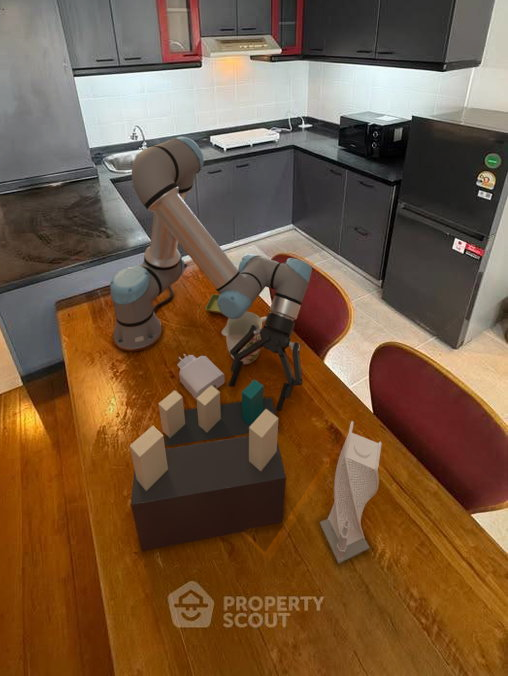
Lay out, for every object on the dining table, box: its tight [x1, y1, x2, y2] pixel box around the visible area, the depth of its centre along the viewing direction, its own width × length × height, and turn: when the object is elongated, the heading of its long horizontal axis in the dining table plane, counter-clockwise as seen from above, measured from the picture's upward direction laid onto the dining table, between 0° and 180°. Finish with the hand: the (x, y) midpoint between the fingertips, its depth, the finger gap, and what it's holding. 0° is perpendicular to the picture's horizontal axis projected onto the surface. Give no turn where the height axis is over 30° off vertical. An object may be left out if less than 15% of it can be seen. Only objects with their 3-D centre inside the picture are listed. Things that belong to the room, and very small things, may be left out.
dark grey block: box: [158, 385, 280, 447], centre depth 95 cm, size 9×29×11 cm, turn 99°
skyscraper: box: [319, 420, 383, 565], centre depth 70 cm, size 8×8×28 cm
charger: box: [176, 353, 226, 401], centre depth 109 cm, size 5×9×15 cm
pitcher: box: [221, 311, 267, 365], centre depth 114 cm, size 11×18×14 cm, turn 129°
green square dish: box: [204, 293, 223, 315], centre depth 136 cm, size 9×9×2 cm
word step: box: [129, 409, 287, 552], centre depth 74 cm, size 9×28×26 cm, turn 99°
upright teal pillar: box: [241, 379, 265, 426], centre depth 96 cm, size 3×5×10 cm, turn 139°
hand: (254, 398), depth 96 cm, fingers open, 13 cm apart
